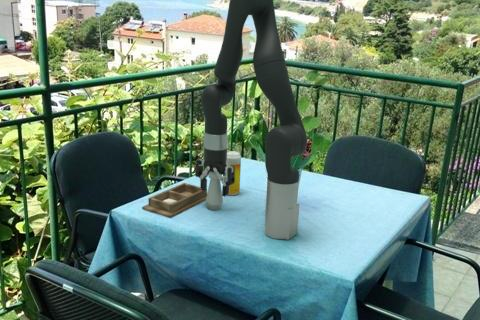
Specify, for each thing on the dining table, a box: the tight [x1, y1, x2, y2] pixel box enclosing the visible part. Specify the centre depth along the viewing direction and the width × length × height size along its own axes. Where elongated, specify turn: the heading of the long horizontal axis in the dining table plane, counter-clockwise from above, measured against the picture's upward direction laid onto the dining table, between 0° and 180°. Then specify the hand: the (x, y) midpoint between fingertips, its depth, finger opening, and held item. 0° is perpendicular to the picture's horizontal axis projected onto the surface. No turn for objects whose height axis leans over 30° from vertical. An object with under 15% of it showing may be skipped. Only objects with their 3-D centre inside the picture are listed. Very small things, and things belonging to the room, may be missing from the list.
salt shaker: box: [205, 172, 224, 211], centre depth 171 cm, size 6×6×13 cm
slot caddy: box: [141, 182, 208, 219], centre depth 175 cm, size 12×23×4 cm, turn 148°
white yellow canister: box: [225, 150, 242, 197], centre depth 184 cm, size 6×6×15 cm
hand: (214, 192), depth 171 cm, fingers open, 8 cm apart
